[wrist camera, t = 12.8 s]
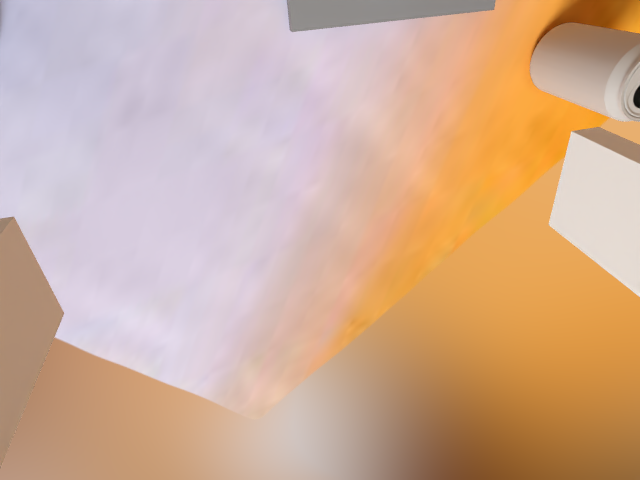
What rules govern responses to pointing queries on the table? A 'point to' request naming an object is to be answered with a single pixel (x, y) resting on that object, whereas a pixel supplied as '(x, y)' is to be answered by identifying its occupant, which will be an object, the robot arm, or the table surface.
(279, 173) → the table surface
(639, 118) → the beverage can
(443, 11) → the collar board
